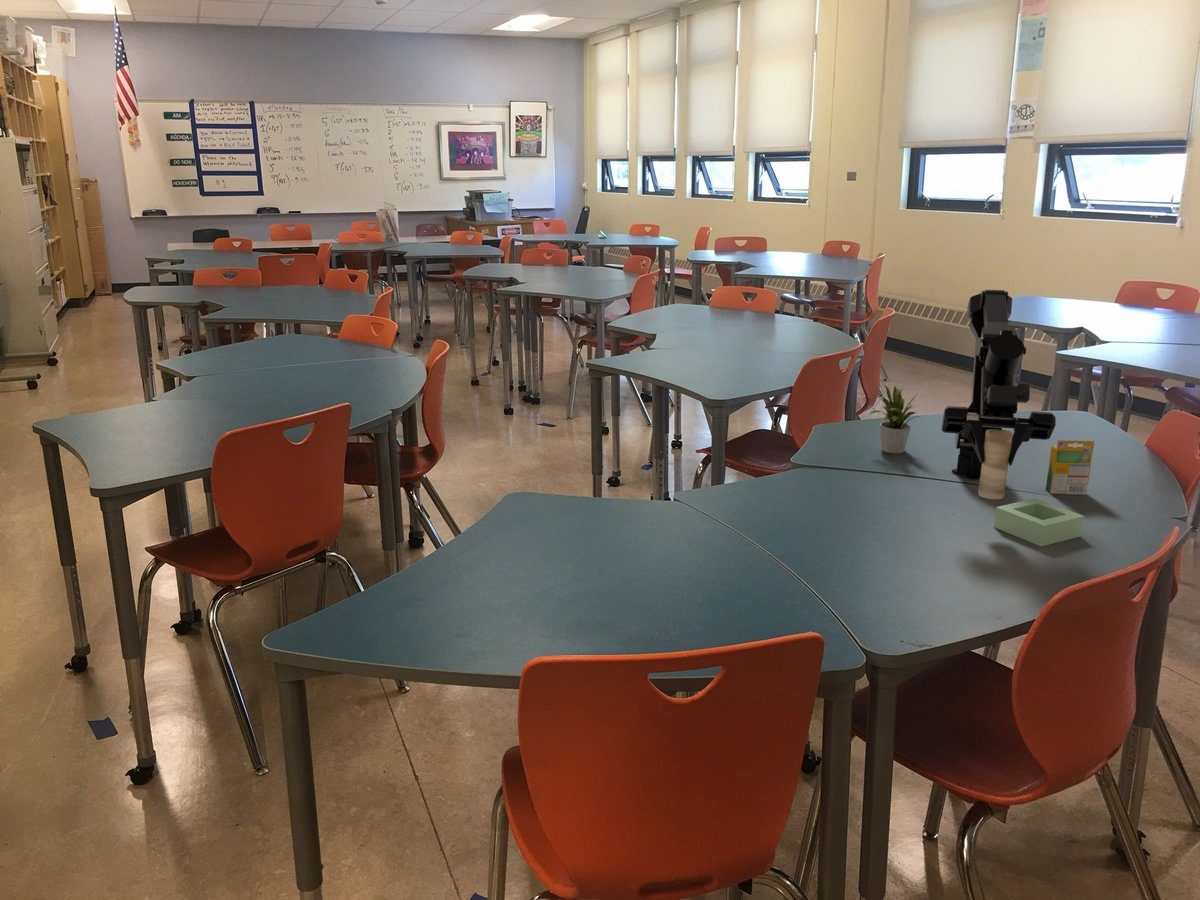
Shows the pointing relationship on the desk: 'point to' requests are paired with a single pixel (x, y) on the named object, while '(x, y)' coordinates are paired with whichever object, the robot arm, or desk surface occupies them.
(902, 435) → the house plant
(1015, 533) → the pale green square holder
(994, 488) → the beige ridged cylinder
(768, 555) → the desk surface
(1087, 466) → the crayon box
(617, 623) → the desk surface
